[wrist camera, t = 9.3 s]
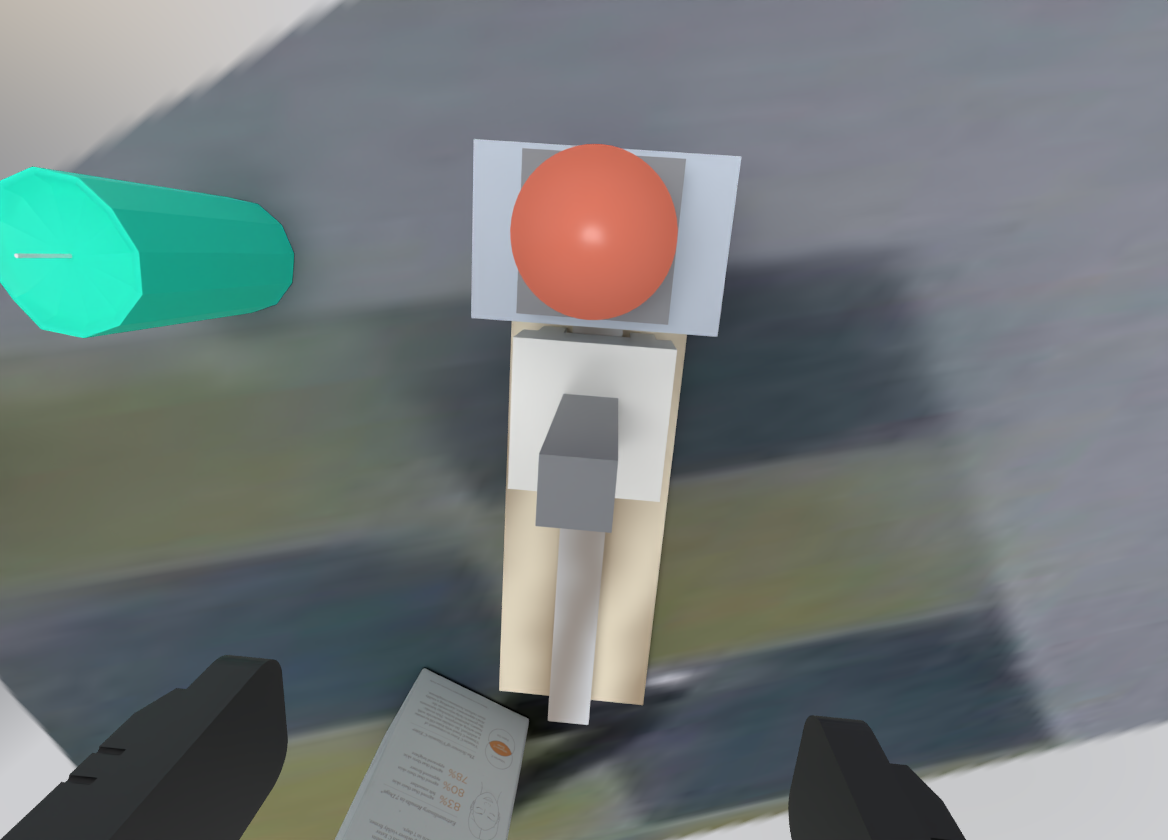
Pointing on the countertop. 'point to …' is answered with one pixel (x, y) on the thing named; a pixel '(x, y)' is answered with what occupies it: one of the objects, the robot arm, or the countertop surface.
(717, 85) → the countertop surface
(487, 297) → the push button housing
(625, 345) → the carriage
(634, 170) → the button
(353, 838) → the small box
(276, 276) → the candle
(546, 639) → the rail
